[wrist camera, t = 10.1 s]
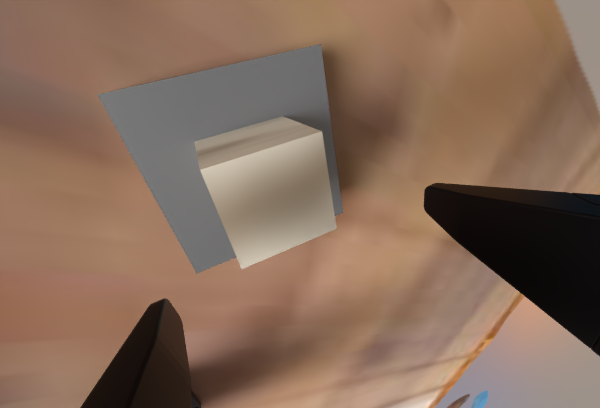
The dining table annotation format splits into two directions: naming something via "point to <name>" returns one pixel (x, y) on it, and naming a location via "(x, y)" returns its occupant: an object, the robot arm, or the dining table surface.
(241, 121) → the base
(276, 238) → the cube
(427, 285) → the dining table surface
